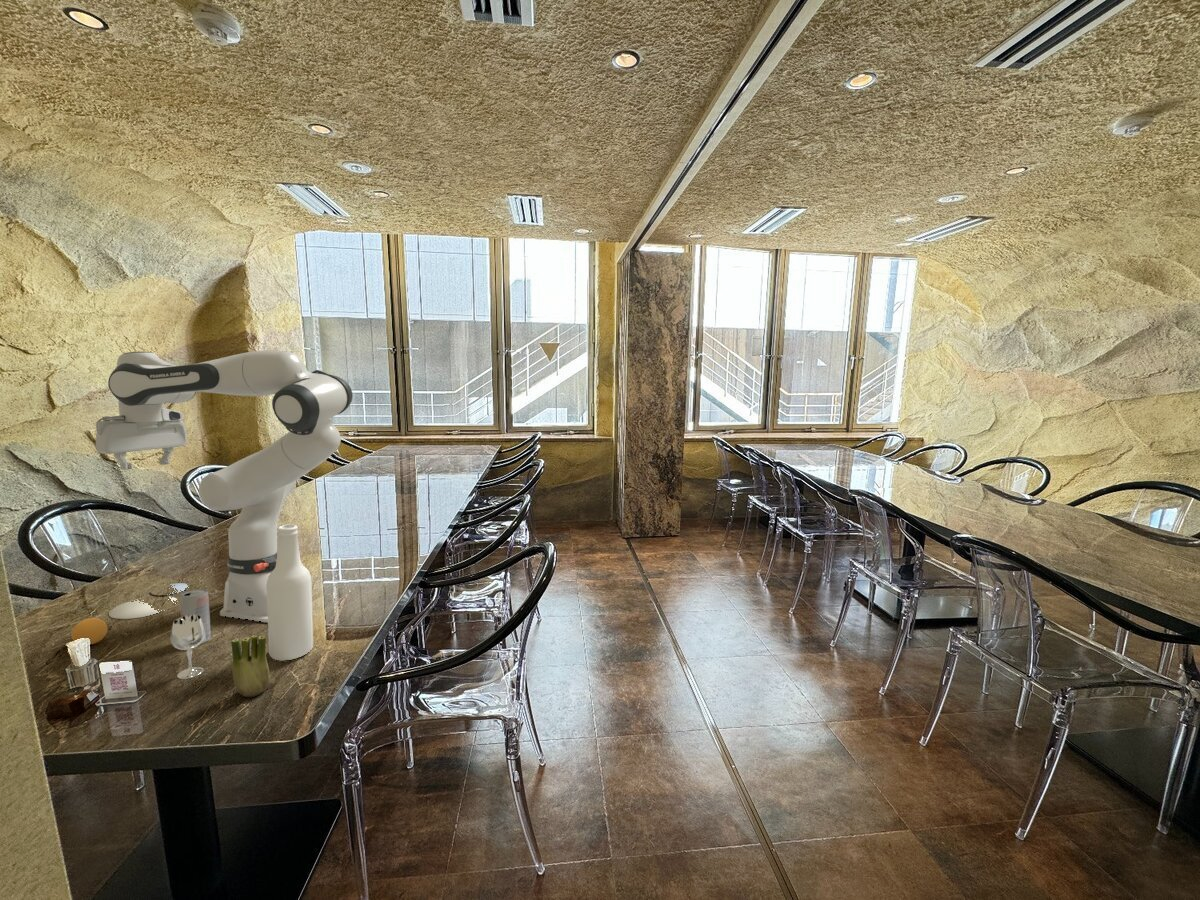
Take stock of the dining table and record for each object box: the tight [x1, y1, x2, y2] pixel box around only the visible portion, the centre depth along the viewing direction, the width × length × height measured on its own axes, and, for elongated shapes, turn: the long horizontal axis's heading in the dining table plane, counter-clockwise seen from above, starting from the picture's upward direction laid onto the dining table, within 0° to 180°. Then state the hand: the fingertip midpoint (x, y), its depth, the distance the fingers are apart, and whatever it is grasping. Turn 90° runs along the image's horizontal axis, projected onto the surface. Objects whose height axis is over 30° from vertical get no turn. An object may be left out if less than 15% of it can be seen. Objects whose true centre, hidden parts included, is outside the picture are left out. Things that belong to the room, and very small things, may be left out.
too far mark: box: [167, 582, 190, 596], centre depth 153 cm, size 9×9×1 cm
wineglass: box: [170, 615, 205, 680], centre depth 111 cm, size 6×6×12 cm
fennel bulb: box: [230, 634, 271, 698], centre depth 106 cm, size 6×5×12 cm
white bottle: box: [266, 524, 314, 662], centre depth 120 cm, size 9×9×30 cm
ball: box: [70, 617, 108, 645], centre depth 122 cm, size 6×6×6 cm
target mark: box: [108, 595, 178, 620], centre depth 141 cm, size 14×14×1 cm
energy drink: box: [179, 588, 212, 646], centre depth 125 cm, size 5×5×12 cm
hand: (146, 466), depth 140 cm, fingers open, 8 cm apart
